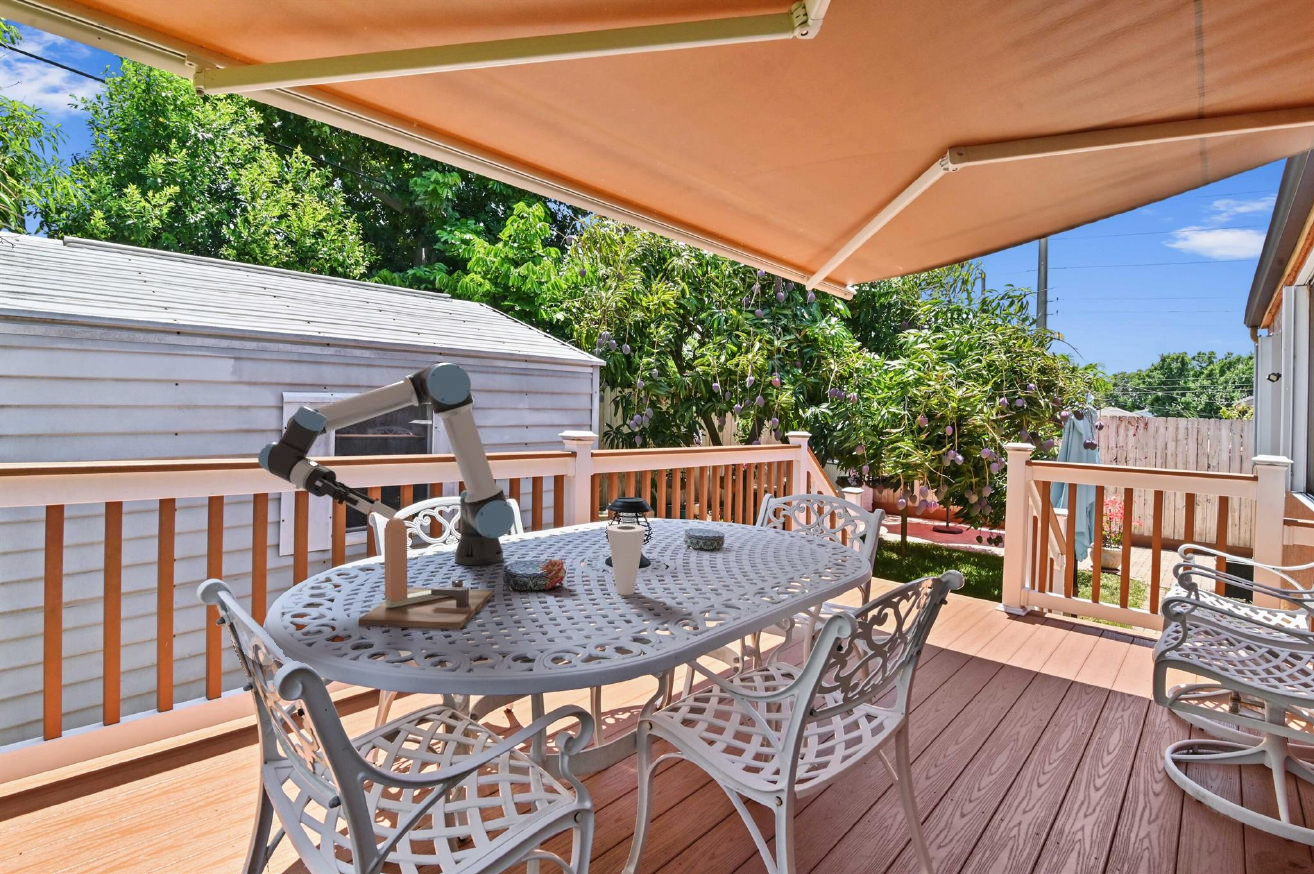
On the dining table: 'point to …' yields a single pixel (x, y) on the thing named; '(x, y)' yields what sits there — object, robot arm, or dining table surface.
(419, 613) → the board
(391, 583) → the link
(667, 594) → the dining table surface
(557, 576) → the flower
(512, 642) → the dining table surface
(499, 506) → the robot arm
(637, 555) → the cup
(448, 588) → the keeper
